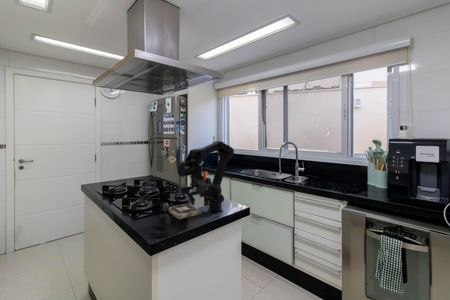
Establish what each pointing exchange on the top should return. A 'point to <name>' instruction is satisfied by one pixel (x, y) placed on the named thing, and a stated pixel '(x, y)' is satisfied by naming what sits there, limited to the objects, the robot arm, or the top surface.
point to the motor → (206, 202)
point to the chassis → (181, 210)
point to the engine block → (197, 201)
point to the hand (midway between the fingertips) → (196, 203)
